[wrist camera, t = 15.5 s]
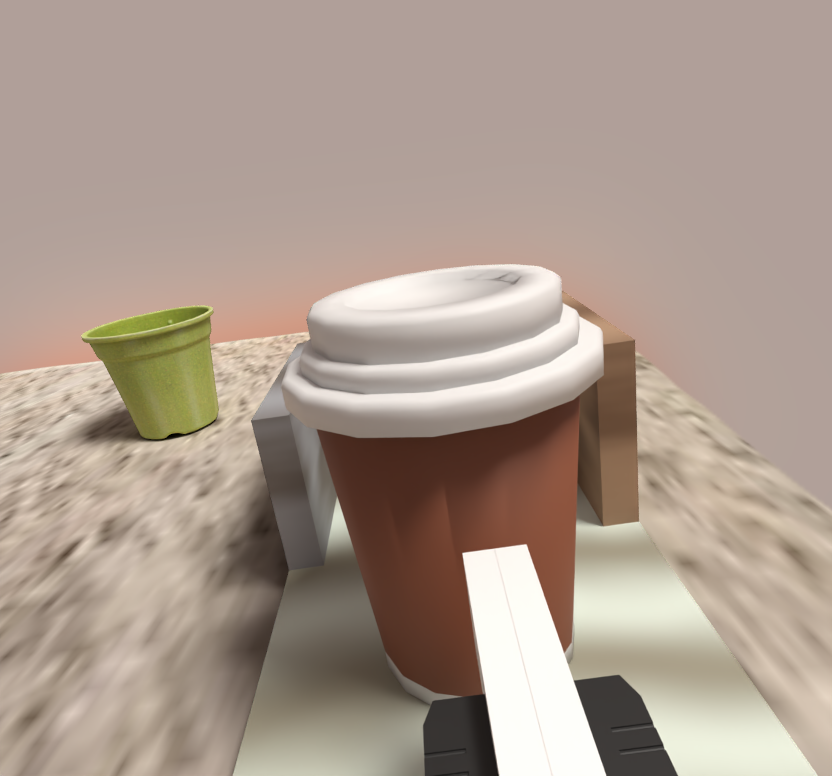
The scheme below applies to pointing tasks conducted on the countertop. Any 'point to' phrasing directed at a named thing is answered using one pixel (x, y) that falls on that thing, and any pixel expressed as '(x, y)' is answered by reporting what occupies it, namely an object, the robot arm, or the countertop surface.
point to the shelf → (593, 614)
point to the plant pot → (161, 368)
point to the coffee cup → (449, 446)
